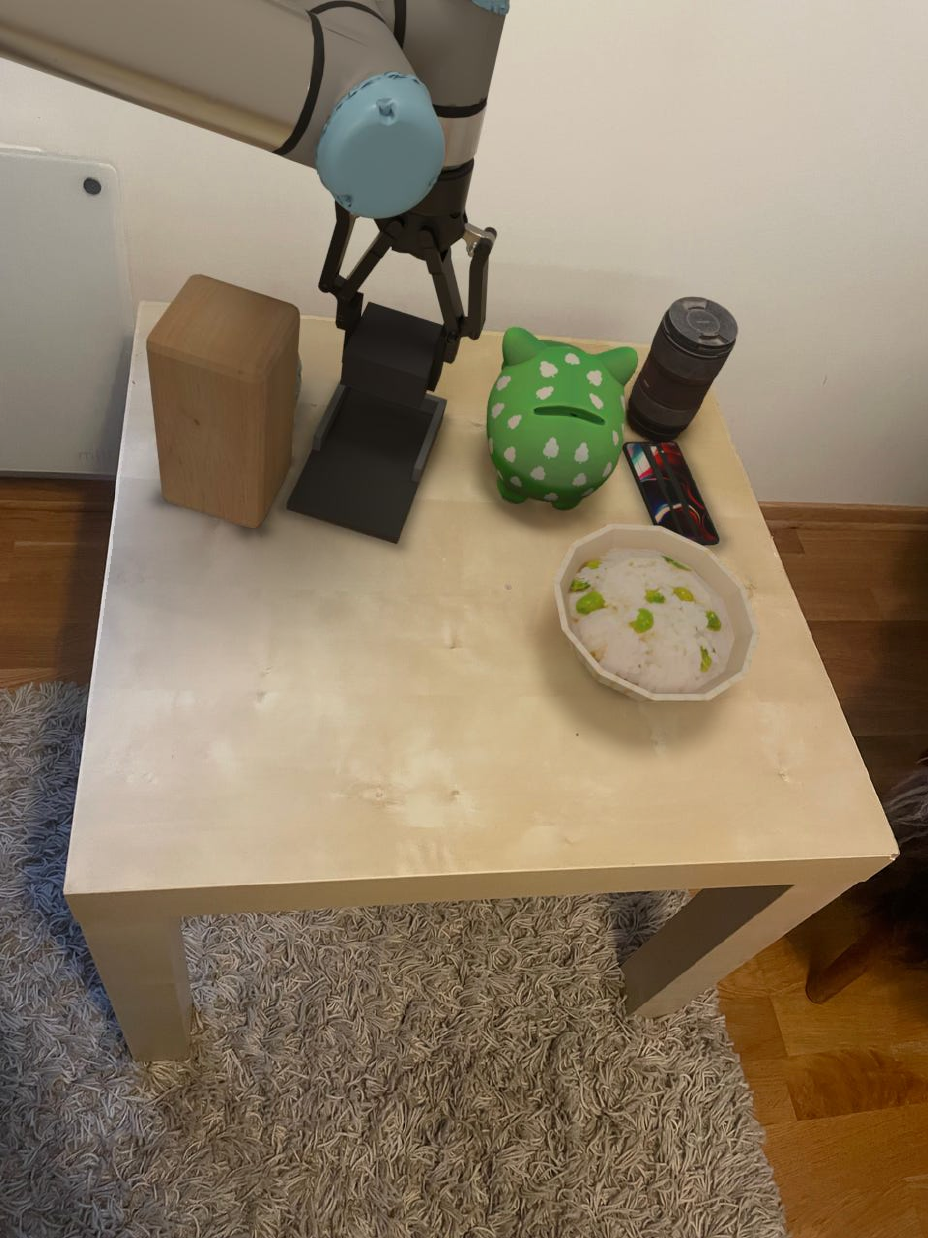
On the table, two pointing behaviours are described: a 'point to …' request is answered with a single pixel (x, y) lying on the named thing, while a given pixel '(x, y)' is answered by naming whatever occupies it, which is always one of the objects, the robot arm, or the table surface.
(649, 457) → the smartphone
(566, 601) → the bowl
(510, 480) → the piggy bank
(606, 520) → the table surface
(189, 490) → the wooden block
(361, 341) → the foam pad
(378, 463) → the black tray
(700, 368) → the camera lens
